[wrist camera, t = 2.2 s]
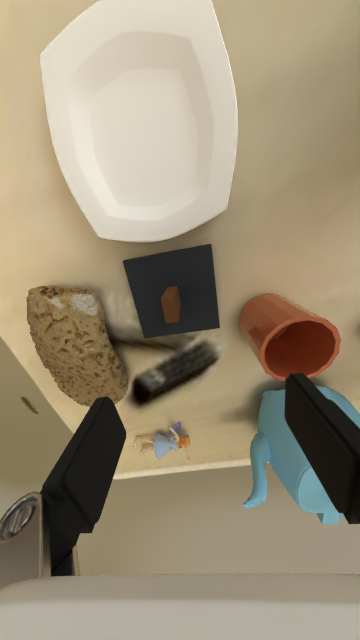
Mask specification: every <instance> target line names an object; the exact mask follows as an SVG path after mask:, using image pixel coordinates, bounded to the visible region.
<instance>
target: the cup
mask: <svg viewBox="0 0 360 640" xmlns="http://www.w3.org/2000/svg"><path fill="white" fill-rule="evenodd" d="M239 328H240V331H241V333H242V334H243V336H244V338H245V339H246V341H247V343H248V344H249V346H250V348H251V349H252V351H253V353H254V354H255V356H256V357H257V359H258V361H259V362H260V364H261V366H262V367H263V369H264V370H265V372H266V373H267V374H269V375H270V376H272V377H273V378H275V379H278V380H282V381H286V378H288V377H289V374H295V373H304V374H305V375H306V376H307V377H308V379H309V378H311V377H314V376H316V375H319V374H320V373H321V372H322V371H324V370H325V369H326V368H328V367H329V366H330V365H331V364H332V362H333V361H334V359H335V358H336V356H337V355H338V353H339V348H340V342H341V339H340V336H339V333H338V331H337V328H336V327H335V326H334V325H332V324H331V323H330V322H329V321H328V320H326V319H325V318H323V317H321V316H319V315H317V314H315V313H313V312H311V311H309V310H307V309H305V308H304V307H302V306H300V305H298V304H296V303H294V302H292V301H290V300H288V299H286V298H285V297H282V296H279V295H275V294H265V295H261V296H258V297H256V298H254V299H252V300H251V301H250V302H248V303H247V304H246V305H245V307H244V308H243V309H242V311H241V313H240V316H239Z"/></svg>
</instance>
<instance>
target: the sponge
mask: <svg viewBox="0 0 360 640" xmlns="http://www.w3.org/2000/svg"><path fill="white" fill-rule="evenodd" d="M28 292H29V295H28V297H27V320H28V324H29V325H30V331H31V332H30V334H31V336H32V339H33V341H34V343H35V344H36V345H35V348H36V351H37V354H38V355H39V356H40V359H41V361H42V363H43V365H44V366H45V368H46V369H47V368H48V369H49V371H50V373H51V375H52V377H54V378H55V379H54V381H55V382H57V384H58V388H59V389H60V390H61V391H62V392H64V393H65V394H66V395H68V396H69V397H70V398H72V399H73V400H74V401H77V403H79V404H81V405H85V406H89V407H90V408H91V406H92V404H93V403H94V401H95V400H96V398H99V397H109V398H110V399H112V400H113V403H114V404H115V403H117V402H118V401H120V400H121V399H122V398H123V397H124V396H125V394H126V391H127V389H128V378H127V375H126V372H125V370H124V368H123V365H122V363H121V361H120V359H119V358H118V356H117V354H116V353H115V351H114V350H113V347H112V345H111V343H110V341H109V339H108V338H109V336H108V335H107V333H106V328H105V326H104V322H105V314H104V310H103V306H102V304H101V302H100V300H99V298H98V296H97V295H96V293H95V292H94V291H92V290H85V292H84V291H82V290H79V289H76V288H75V289H71V290H70V289H66V290H64V289H62V288H59V287H46V286H40V287H36V288H33V289H30V290H29V291H28Z"/></svg>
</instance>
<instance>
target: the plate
mask: <svg viewBox="0 0 360 640" xmlns="http://www.w3.org/2000/svg"><path fill="white" fill-rule="evenodd" d="M39 56H40V65H41V73H42V82H43V90H44V98H45V105H46V113H47V119H48V124H49V129H50V134H51V139H52V144H53V147H54V151H55V154H56V158H57V161H58V164H59V167H60V169H61V172H62V174H63V176H64V179H65V181H66V184H67V186H68V187H69V189H70V191H71V193H72V195H73V197H74V199H75V201H76V202H77V204H78V206H79V207H80V209H81V211H82V212H83V214H84V215H85V217H86V219H87V220H88V222H89V223H90V225H91V226H92V228H93V229H94V231H95V232H96V234H97V235H98V237H99V238H100V239H107V240H114V241H125V242H156V241H164V240H167V239H170V238H173V237H176V236H179V235H181V234H184V233H186V232H188V231H190V230H192V229H194V228H196V227H198V226H200V225H202V224H203V223H205V222H207V221H209V220H211V219H212V218H214V217H216V216H217V215H219V214H220V213H222V212H224V211H225V210H226V209H227V204H228V199H229V194H230V189H231V184H232V178H233V172H234V167H235V160H236V150H237V141H238V110H237V101H236V91H235V85H234V81H233V76H232V71H231V66H230V62H229V58H228V54H227V51H226V47H225V44H224V40H223V37H222V33H221V30H220V27H219V23H218V20H217V17H216V14H215V11H214V8H213V4H212V1H211V0H100V1H98V2H97V3H95V4H93V5H92V6H90V7H89V8H88V9H87V10H85V11H84V12H83V13H82V14H80V15H79V16H78V17H77V18H75V19H74V20H73V21H72V22H71V23H70V24H69V25H68V26H67V27H66V28H65V29H64V30H63V31H62V32H60V33H59V34H58V35H57V36H56V37H55V38H54V39H53V40H52V42H51V43H50V44H49V45H48V46H47V47H46V48H45V49H44V50H43V52H42V53H41V54H40V55H39Z"/></svg>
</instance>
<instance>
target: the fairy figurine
mask: <svg viewBox="0 0 360 640" xmlns="http://www.w3.org/2000/svg"><path fill="white" fill-rule="evenodd" d="M178 424H179V422H178V423H177V425H178ZM177 425H176V426H175V427H174V428H173V429H172V428H170V427H169V426H167V428H168V429H170V431H169V434H171V431H172V432H173V435H175V437H176V438H175V439H173V440H172V441H170V440H169V439H168V438H166V437H164V436H163V435H161V434H157V435H156V437H155V439H154V440H153V439H152V438H150V437H136V438H135V440H134V443H133V447H135V446H136V445H137V443H138V442H139V441H144V442H148V443H151V445H143V446H142V449H141V452H140V456H142V455H143V453H144V451H145V450H146V449H150V450H154V452H155V455H156V457H157V458H158V459H161V458H162V457H163V456H164V455H165V454H166V453H167V452H169V451H170V450H171V449H174V450H175V451H177V450H178V449H179V448H180V447H182V448H183V449H184V451H185V453H186V455H187V458H188V462H189V463H190V459H189V456H188V454H187V450H186V448H185V447H188V446H189V444H190V439H189V436H188V437H187V436H185V437H179V436H178V435H179V434H178V435H177V433H176V431H175V429H176V428H178V426H180V425H181V423H180V425H178V426H177ZM180 428H181V426H180V427H179V429H180ZM179 429H178V430H179ZM180 431H181V429H180ZM177 432H178V431H177ZM178 433H179V432H178ZM180 434H181V432H180ZM171 436H172V435H170V437H171ZM172 438H173V437H172Z"/></svg>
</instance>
